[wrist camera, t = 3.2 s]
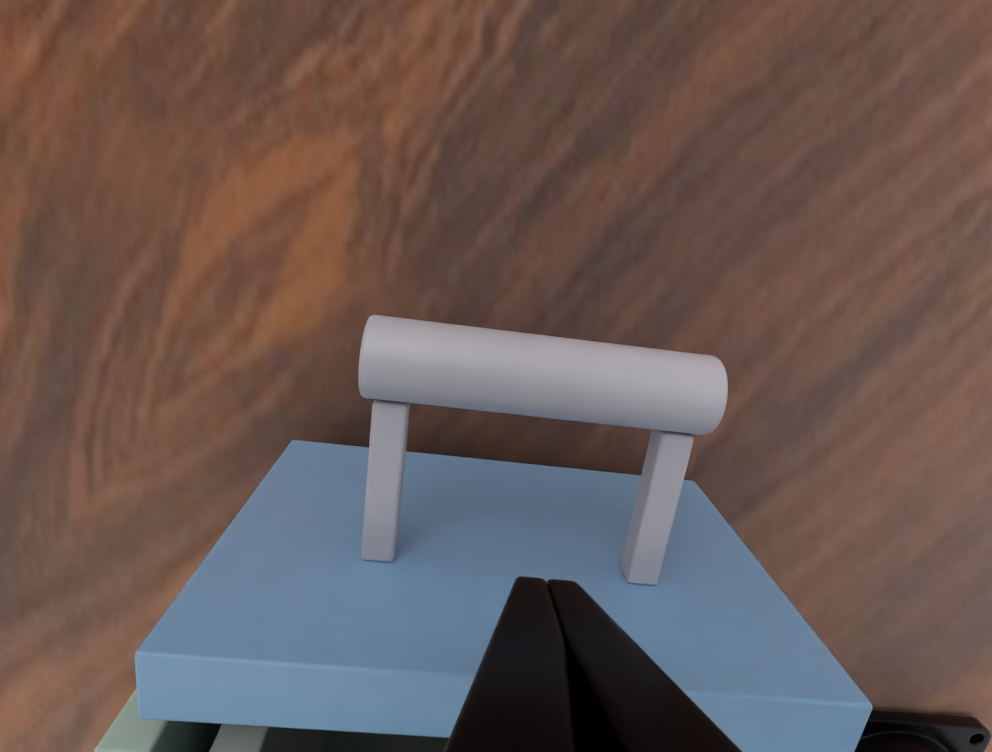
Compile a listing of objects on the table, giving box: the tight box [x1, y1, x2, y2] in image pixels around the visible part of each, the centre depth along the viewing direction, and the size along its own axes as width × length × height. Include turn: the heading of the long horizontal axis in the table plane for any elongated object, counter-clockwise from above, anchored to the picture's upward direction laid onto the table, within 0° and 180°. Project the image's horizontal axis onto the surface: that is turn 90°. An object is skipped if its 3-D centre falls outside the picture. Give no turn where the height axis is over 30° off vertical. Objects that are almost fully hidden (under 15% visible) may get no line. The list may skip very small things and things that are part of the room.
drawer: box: [135, 315, 872, 752], centre depth 13 cm, size 17×11×7 cm, turn 172°
